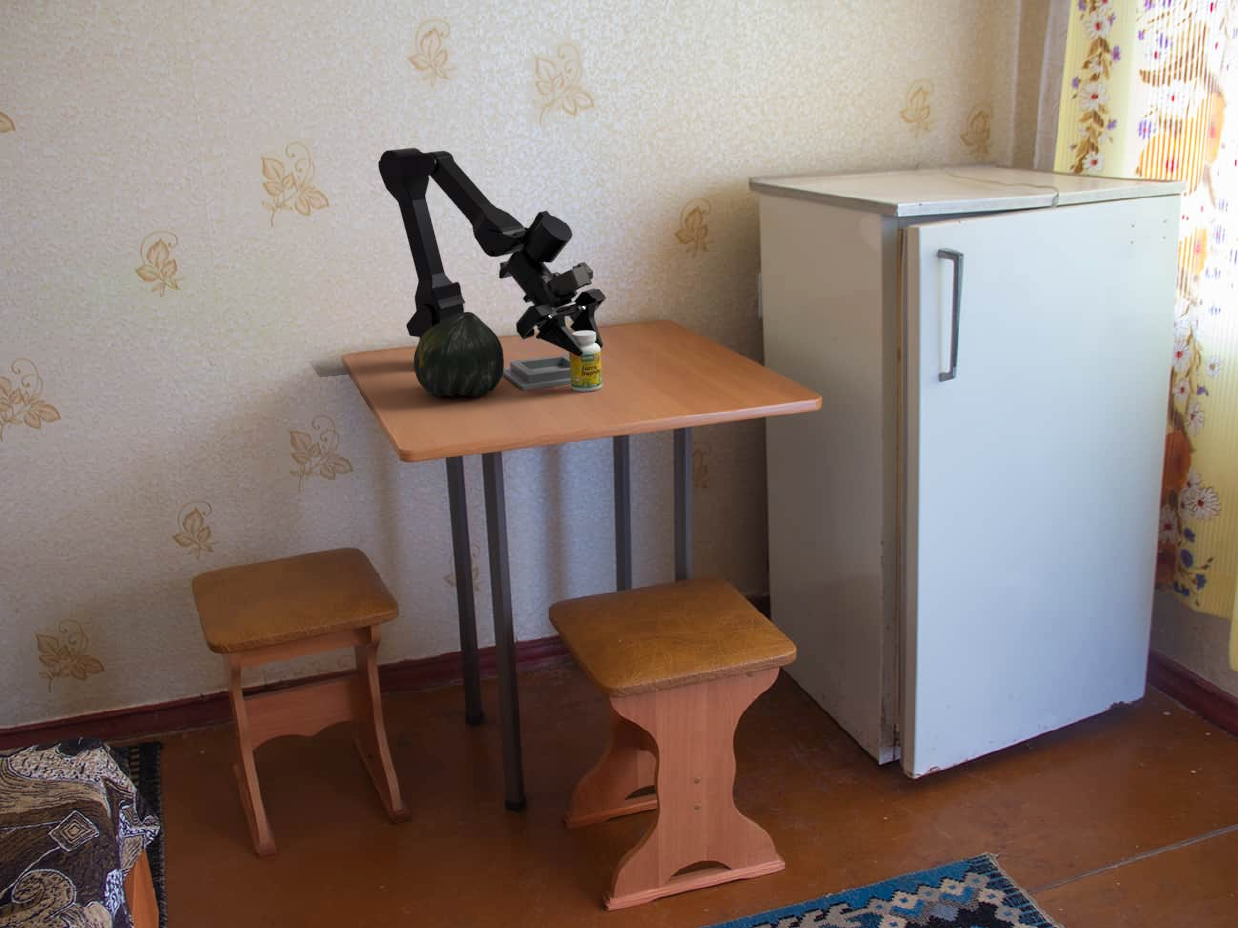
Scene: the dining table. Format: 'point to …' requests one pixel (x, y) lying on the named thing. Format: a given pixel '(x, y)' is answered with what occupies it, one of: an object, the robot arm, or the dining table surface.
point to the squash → (459, 357)
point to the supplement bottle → (586, 363)
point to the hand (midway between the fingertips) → (591, 351)
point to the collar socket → (539, 372)
